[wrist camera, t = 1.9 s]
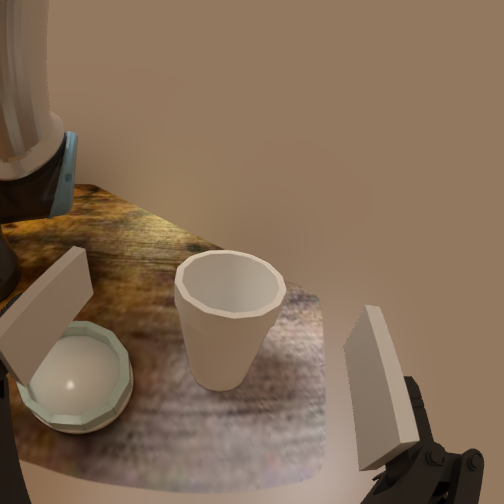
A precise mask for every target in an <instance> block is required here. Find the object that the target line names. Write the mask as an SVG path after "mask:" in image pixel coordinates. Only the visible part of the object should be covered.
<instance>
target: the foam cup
mask: <svg viewBox="0 0 504 504" xmlns="http://www.w3.org/2000/svg"><path fill="white" fill-rule="evenodd" d="M286 291H287V290H286V287H285V284H284V281H283V277H282V275H281V274H280V273H279V272H278V271H277V270H275V269H274V268H273V267H272V266H271V265H270V264H269V263H267V262H265V261H263V260H261V259H259V258H257V257H255V256H253V255H251V254H245V253H241V252H236V251H231V250H217V251H206V252H203V253H200V254H196V255H193V256H190V257H189V258H188V259H187V260H185V261H184V262H183V263H182V264H181V265H180V266H179V267H178V268H177V273H176V278H175V305H176V307H177V309H178V312H179V317H180V322H181V327H182V332H183V337H184V342H185V347H186V352H187V356H188V361H189V365H190V369H191V373H192V374H193V376H194V378H195V380H196V382H198V383H199V384H200V385H202V386H203V387H205V388H206V389H209V390H214V391H218V392H221V391H227V390H232V389H234V388H235V387H237V386H238V385H240V384H241V383H242V381H243V379H244V378H245V376H246V374H247V372H248V370H249V368H250V366H251V364H252V362H253V360H254V359H255V357H256V355H257V353H258V351H259V349H260V347H261V345H262V343H263V341H264V339H265V337H266V335H267V333H268V331H269V329H270V328H271V327H272V326H274V324H275V322H276V320H277V317H278V315H279V313H280V311H281V307H282V304H283V301H284V297H285V294H286Z"/></svg>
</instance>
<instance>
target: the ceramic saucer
mask: <svg viewBox="0 0 504 504" xmlns="http://www.w3.org/2000/svg"><path fill="white" fill-rule="evenodd" d="M133 384H134V377H133V370H132V366H131V363H130V359H129V355H128V352H127V350H126V349H125V348H124V347H123V345H122V344H121V343H120V341H119V340H118V339H117V337H116V336H115V334H114V333H113V332H112V331H110V330H108V329H105V328H103V327H101V326H98V325H96V324H94V323H92V322H90V321H89V322H88V321H72V322H71V323H70V324H69V326H68V327H67V328H66V330H65V331H64V332H63V334H62V335H61V337H60V338H59V339H58V341H57V342H56V343H55V345H54V346H53V348H52V349H51V350H50V352H49V353H48V355H47V356H46V358H45V359H44V361H43V362H42V363H41V365H40V366H39V368H38V369H37V371H36V372H35V374H34V375H33V377H32V379H31V380H30V382H29V383H28V385H27V386H26V388H25V387H24V386H22V385H21V384H19V383H18V382H17V385H18V388H19V391H20V394H21V397H22V399H23V402H24V404H25V405H26V406H27V407H28V408H29V410H30V411H32V413H33V414H34V415H35V416H36V417H37V418H38V419H39V420H40V421H41V422H43V423H44V424H45V425H47V426H49V427H50V428H52V429H55V430H57V431H60V432H64V433H69V434H84V433H90V432H93V431H97V430H99V429H101V428H104V427H105V426H107V425H109V424H110V423H112V422H113V421H114V420H115V419H116V418H117V417H118V416H119V415H120V414H121V413H122V412H123V411H124V409H125V407H126V406H127V404H128V402H129V400H130V398H131V394H132V391H133Z"/></svg>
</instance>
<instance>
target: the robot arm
mask: <svg viewBox="0 0 504 504" xmlns="http://www.w3.org/2000/svg"><path fill="white" fill-rule="evenodd" d="M48 8H49V0H0V224H6V223H13V222H20V221H27V220H35V219H44V218H47V219H50V218H52V217H55V216H60V215H65V214H67V213H68V212H69V211H70V210H71V208H72V205H73V197H74V182H75V168H76V155H77V142H78V138H77V134H76V133H73V132H70V131H69V132H68V131H67V132H66V133H64V126H63V123H62V120H61V119H60V118H59V117H58V116H57V115H56V114H54V113H52V112H50V105H49V95H48V82H47V51H46V50H47V20H48ZM20 276H21V268H20V264H19V261H18V258H17V255H16V254H15V252H14V251H13V250H12V248H11V246H10V244H9V243H8V241H7V239H6V237H5V236H4V234H3V232H2V229H1V225H0V301H1V300H3V299H4V298H5V297H6V296H8V295H9V294H10V293H11V291H12V290H13V289H14V288H15V286H16V285H17V283H18V281H19V279H20ZM92 295H93V289H92V284H91V279H90V274H89V268H88V263H87V257H86V250H85V249H83V248H79V247H75V246H73V247H72V248H71V249H70V250H69V251H68V252H66V253H65V254H64V255H63V256H62V257H61V258H60V259H59V260H57V261H56V262H55V263H54V264H53V265H52V266H51V267H50V268H49V269H48V270H47V271H46V272H44V273H43V274H42V275H41V276H40V277H39V278H38V279H37V280H36V281H35V282H34V283H33V284H32V285H31V286H30V287H29V288H28V289H27V290H26V291H25V292H24V293H20V294H19V295H17V296H15V297H14V298H12V299H11V300H10V301H9V302H8V304H7V305H6V307H4V308H3V309H2V310H1V312H0V504H31V501H30V498H29V495H28V492H27V489H26V485H25V482H24V478H23V475H22V471H21V467H20V463H19V459H18V454H17V449H16V444H15V439H14V433H13V426H12V419H11V410H10V400H9V386H8V378H7V376H6V374H7V373H8V372H9V373H10V375H11V376H12V378H13V379H14V380H15V381H16V382H18V383H19V384H21V385H22V386H24V387H25V388H26V386H27V385H28V383H29V382H30V380H31V379H32V377H33V375H34V374H35V372H36V371H37V369H38V368H39V366H40V365H41V363H42V362H43V361H44V359H45V358H46V356H47V355H48V353H49V352H50V350H51V349H52V348H53V346H54V345H55V343H56V342H57V341H58V339H59V338H60V337H61V335H62V334H63V332H64V331H65V330H66V328H67V327H68V326H69V324H70V323H71V322H72V321H73V319H74V318H75V317H76V315H77V314H78V313H79V312H80V310H81V309H82V308H83V306H84V305H85V304H86V303H87V301H88V300H89V299H90V298H91V297H92ZM344 352H345V358H346V364H347V371H348V377H349V384H350V391H351V398H352V405H353V412H354V421H355V430H356V439H357V449H358V461H359V471H367V470H377V469H378V468H380V467H382V466H383V465H385V466H386V471H384V472H382V473H381V474H379V475H377V476H376V477H374V478H373V479H372V480H373V481H375V480H377V479H379V480H378V481H377V482H376V484H375V485H374V486H373V488H372V489H371V491H370V492H369V493H368V494H367V496H366V497H365V498H364V500H363V501H362V502H361V504H478V501H479V496H480V490H481V484H482V477H483V470H484V459H483V456H482V454H481V453H480V451H478V450H477V449H469V450H467V451H466V452H464V453H463V454H455V453H448V452H446V451H445V449H444V448H443V447H442V446H441V445H440V444H438V443H436V442H434V440H433V437H432V433H431V429H430V425H429V421H428V417H427V414H426V410H425V408H424V403H423V400H422V399H421V398H422V396H421V393H420V390H419V387H418V385H417V383H416V382H415V381H414V379H413V378H412V377H407V376H405V377H404V376H403V374H402V370H401V367H400V364H399V361H398V358H397V355H396V352H395V348H394V345H393V343H392V340H391V337H390V334H389V331H388V328H387V325H386V323H385V320H384V317H383V314H382V312H381V309H380V307H376V306H370V305H365V306H364V308H363V310H362V312H361V314H360V316H359V318H358V320H357V322H356V324H355V326H354V328H353V330H352V332H351V333H350V335H349V337H348V339H347V341H346V343H345V345H344ZM447 492H448V494H447ZM446 496H447V497H446Z"/></svg>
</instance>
